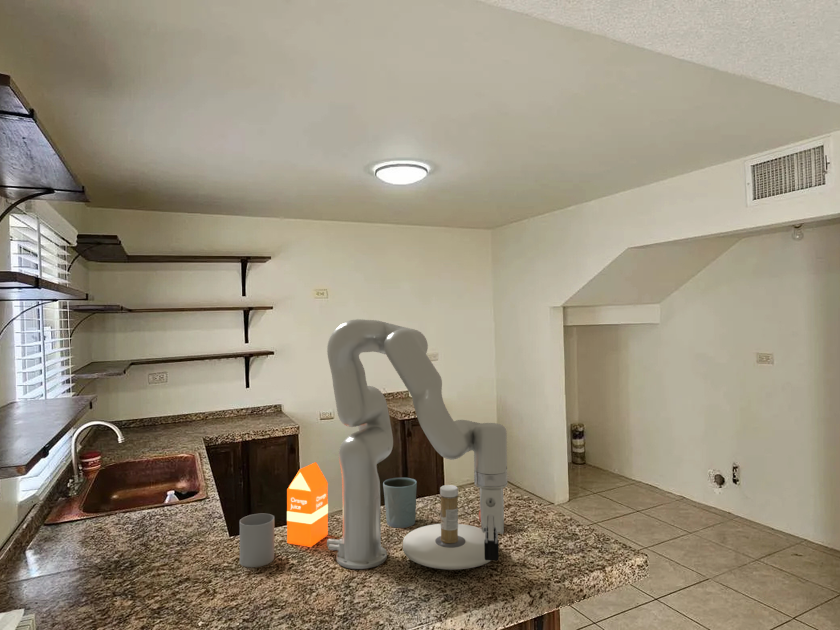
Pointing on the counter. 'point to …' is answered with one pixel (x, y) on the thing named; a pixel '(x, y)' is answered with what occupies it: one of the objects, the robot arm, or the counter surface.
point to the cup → (256, 540)
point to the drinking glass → (400, 502)
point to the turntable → (446, 547)
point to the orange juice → (307, 507)
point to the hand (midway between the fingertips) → (491, 558)
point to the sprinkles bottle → (449, 513)
